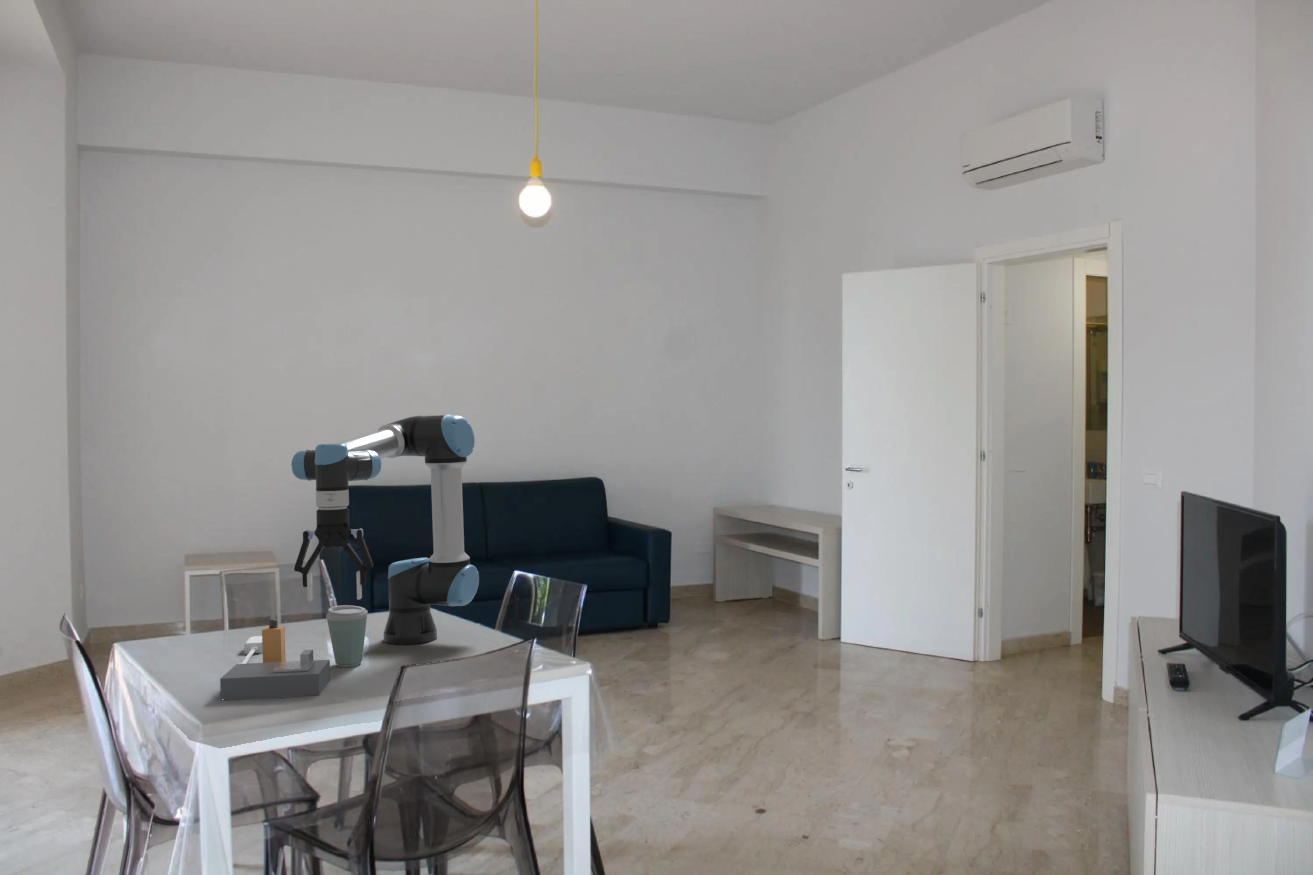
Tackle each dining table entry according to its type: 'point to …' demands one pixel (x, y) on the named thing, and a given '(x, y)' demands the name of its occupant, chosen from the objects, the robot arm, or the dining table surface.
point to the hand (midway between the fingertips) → (335, 599)
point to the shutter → (297, 663)
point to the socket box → (273, 681)
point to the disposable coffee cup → (347, 633)
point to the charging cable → (252, 647)
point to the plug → (273, 642)
